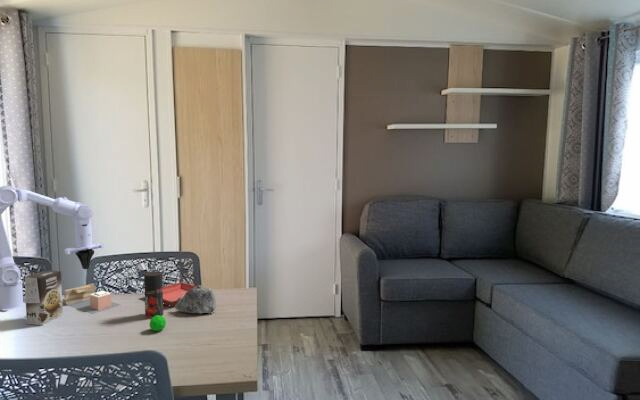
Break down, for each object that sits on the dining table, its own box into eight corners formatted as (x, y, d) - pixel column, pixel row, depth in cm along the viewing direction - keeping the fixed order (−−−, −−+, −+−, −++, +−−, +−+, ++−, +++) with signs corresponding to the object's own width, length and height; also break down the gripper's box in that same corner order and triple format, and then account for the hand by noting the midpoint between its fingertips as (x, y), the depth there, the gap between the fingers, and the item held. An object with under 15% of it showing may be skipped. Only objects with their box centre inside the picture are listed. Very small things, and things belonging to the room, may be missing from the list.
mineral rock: (173, 312, 157) (172, 285, 156) (195, 304, 166) (195, 278, 165) (198, 320, 151) (198, 291, 150) (220, 310, 160) (220, 284, 159)
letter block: (97, 296, 157) (98, 310, 157) (110, 293, 161) (111, 306, 161) (89, 294, 159) (90, 307, 160) (102, 290, 163) (103, 303, 164)
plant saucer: (181, 289, 186) (181, 281, 185) (210, 297, 175) (210, 289, 175) (143, 300, 171) (142, 292, 171) (171, 310, 160) (171, 301, 160)
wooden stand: (62, 303, 164) (62, 289, 163) (91, 295, 173) (90, 282, 172) (71, 306, 161) (71, 292, 160) (100, 298, 170) (99, 285, 169)
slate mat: (54, 301, 167) (54, 300, 167) (82, 293, 176) (82, 292, 176) (92, 314, 154) (92, 313, 154) (121, 305, 163) (121, 304, 163)
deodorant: (166, 313, 156) (165, 272, 155) (155, 319, 151) (154, 276, 149) (153, 311, 158) (152, 270, 157) (141, 316, 153) (140, 274, 151)
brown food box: (42, 326, 143) (40, 278, 142) (26, 324, 145) (23, 276, 143) (64, 316, 152) (61, 270, 151) (48, 314, 154) (45, 269, 152)
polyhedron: (150, 334, 138) (150, 319, 138) (148, 329, 142) (148, 314, 142) (167, 331, 140) (167, 317, 140) (164, 326, 145) (164, 312, 144)
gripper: (71, 239, 165) (73, 274, 166) (107, 233, 177) (108, 266, 178) (60, 237, 168) (62, 271, 170) (96, 231, 180) (98, 263, 182)
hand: (85, 268), depth 174 cm, fingers closed
